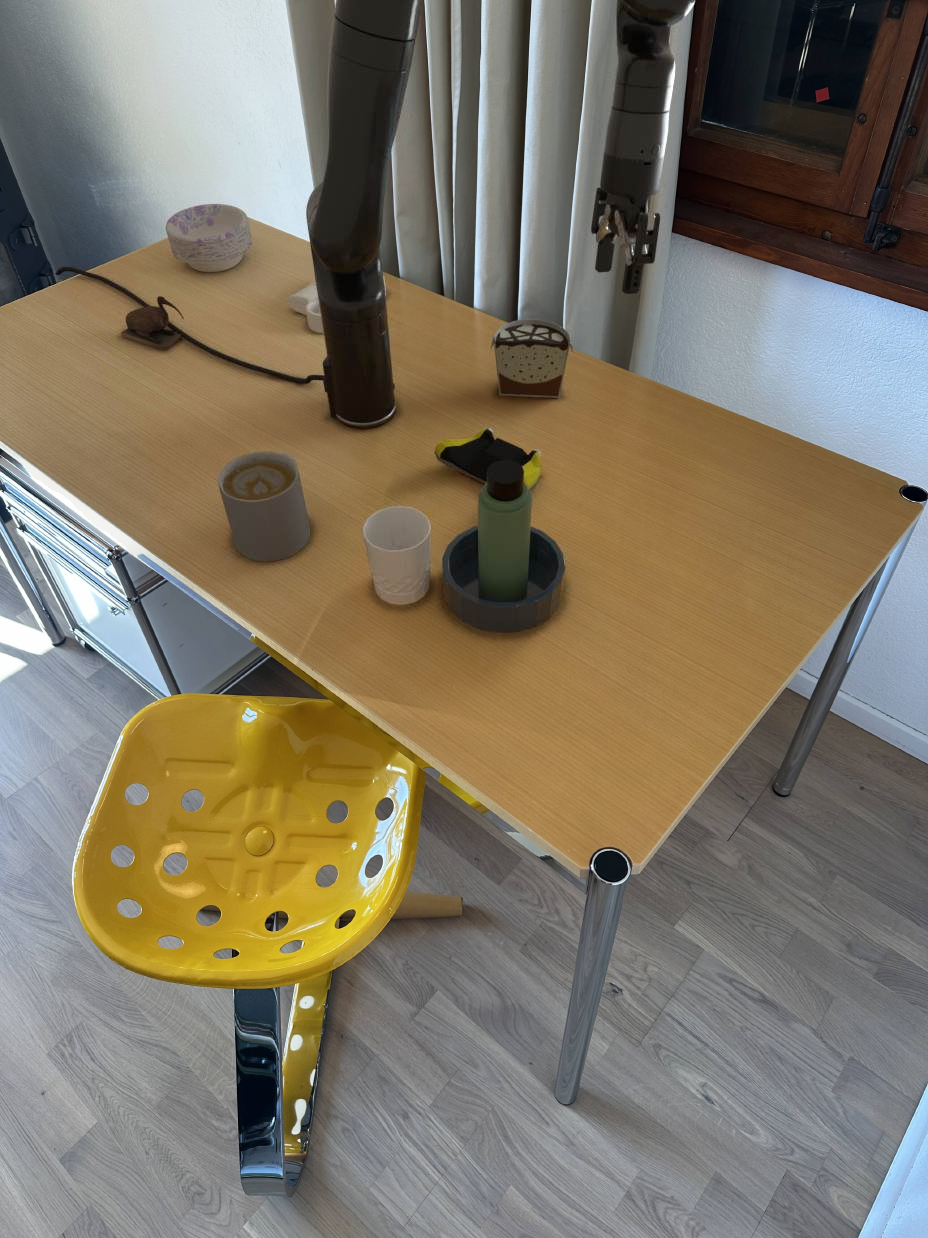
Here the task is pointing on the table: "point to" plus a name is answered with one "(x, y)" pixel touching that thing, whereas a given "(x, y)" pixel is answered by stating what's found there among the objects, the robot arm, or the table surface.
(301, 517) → the coffee mug
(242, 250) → the paper bowls
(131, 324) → the figurine
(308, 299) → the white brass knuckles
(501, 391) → the food container
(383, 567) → the white cup
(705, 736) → the table surface
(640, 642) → the table surface
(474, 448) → the black and yellow shoe
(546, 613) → the dark blue bowl
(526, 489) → the bottle
